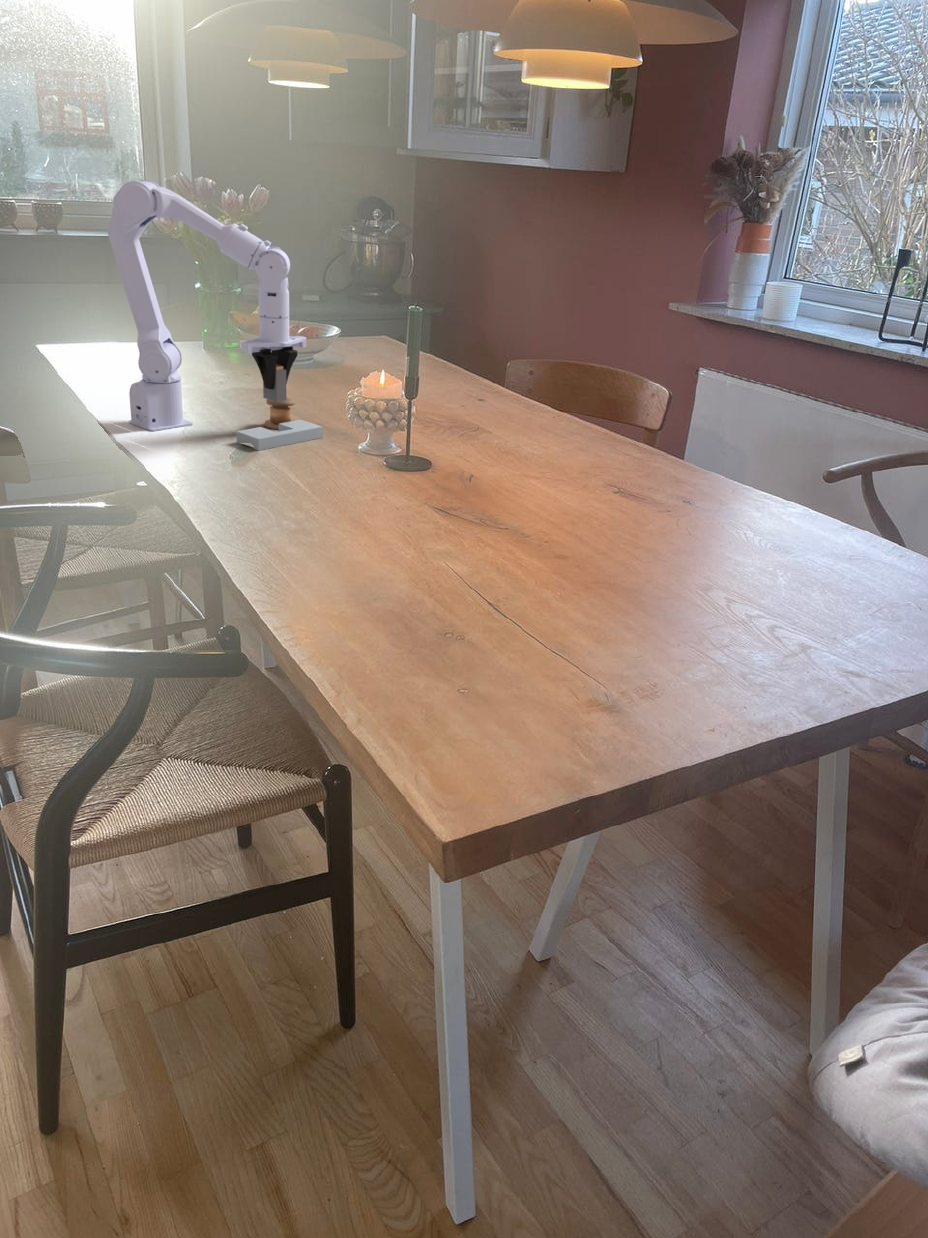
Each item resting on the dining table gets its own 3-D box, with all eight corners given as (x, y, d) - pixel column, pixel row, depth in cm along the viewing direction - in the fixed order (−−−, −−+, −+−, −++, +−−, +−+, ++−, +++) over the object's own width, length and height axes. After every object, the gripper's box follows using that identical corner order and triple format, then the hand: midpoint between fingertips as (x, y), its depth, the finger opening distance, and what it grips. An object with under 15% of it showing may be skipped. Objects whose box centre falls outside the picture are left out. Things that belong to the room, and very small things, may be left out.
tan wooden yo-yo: (278, 431, 189) (278, 405, 187) (258, 424, 193) (257, 398, 191) (303, 426, 194) (303, 401, 192) (282, 419, 197) (282, 395, 195)
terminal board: (258, 450, 176) (258, 439, 175) (236, 442, 180) (236, 431, 179) (322, 437, 188) (322, 426, 187) (300, 430, 191) (300, 419, 190)
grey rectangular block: (276, 401, 185) (276, 367, 183) (263, 397, 188) (262, 363, 185) (286, 400, 187) (286, 366, 184) (273, 396, 189) (272, 362, 187)
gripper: (257, 321, 173) (259, 395, 179) (316, 316, 183) (316, 386, 189) (233, 315, 177) (235, 388, 183) (292, 311, 187) (293, 380, 193)
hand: (275, 387), depth 186 cm, fingers closed on grey rectangular block, 2 cm apart
